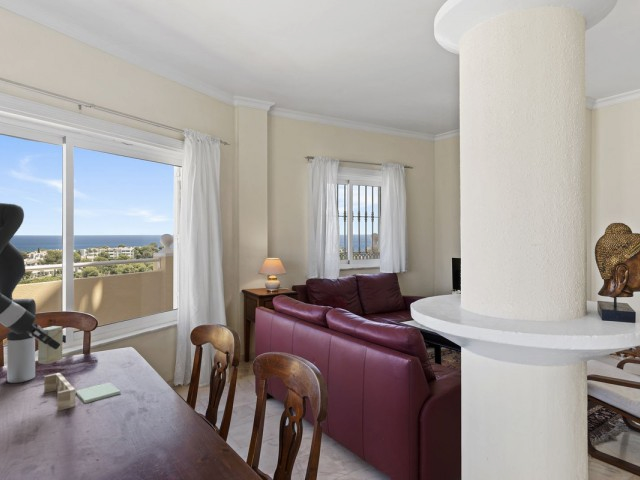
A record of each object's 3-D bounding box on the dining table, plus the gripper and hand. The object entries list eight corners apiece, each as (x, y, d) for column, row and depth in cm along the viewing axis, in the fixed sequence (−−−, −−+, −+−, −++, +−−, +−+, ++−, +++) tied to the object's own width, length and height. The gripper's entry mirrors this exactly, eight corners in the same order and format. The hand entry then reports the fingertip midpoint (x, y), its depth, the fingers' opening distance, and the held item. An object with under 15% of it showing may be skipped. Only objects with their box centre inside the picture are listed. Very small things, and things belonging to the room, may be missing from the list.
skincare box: (47, 364, 137) (48, 330, 137) (37, 363, 138) (37, 329, 138) (63, 359, 144) (63, 326, 143) (52, 358, 144) (53, 325, 144)
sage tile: (75, 393, 148) (75, 390, 148) (109, 384, 157) (109, 382, 156) (84, 403, 140) (84, 400, 140) (120, 393, 148) (120, 390, 148)
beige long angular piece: (44, 391, 149) (44, 375, 149) (59, 387, 153) (59, 372, 153) (58, 410, 134) (58, 393, 134) (75, 406, 137) (75, 389, 137)
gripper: (28, 311, 130) (69, 340, 139) (21, 305, 140) (59, 332, 149) (8, 330, 127) (51, 358, 135) (2, 322, 137) (43, 349, 145)
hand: (55, 344), depth 142 cm, fingers closed on skincare box, 6 cm apart
